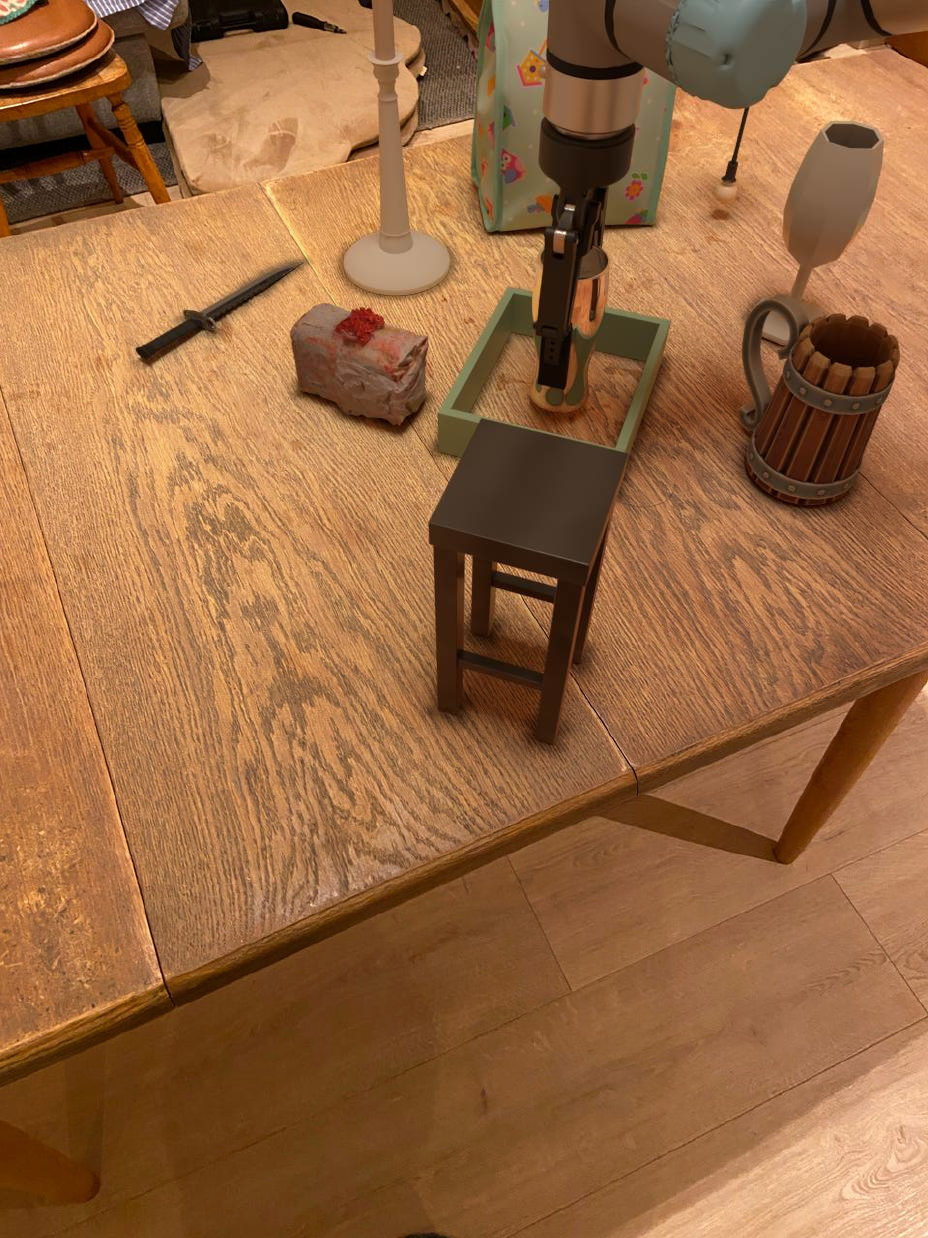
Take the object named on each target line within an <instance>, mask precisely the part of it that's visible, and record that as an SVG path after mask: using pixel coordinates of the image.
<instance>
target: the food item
mask: <svg viewBox="0 0 928 1238" xmlns="http://www.w3.org/2000/svg"><path fill="white" fill-rule="evenodd" d="M289 338H290V340H291V350H292V355H293V361H294V366H295V372H296V378H297V385H298V386H297V387H298V389H299V391H300V392H306V393H308V394H313V395H318V396H319V397H320V398H323V399H326V400H329V401H332V402H333V403H336V405H337V406H338V407H339V409H340V410H341V412H342V413H344V414H345V415H347V416H350V415H352V416H356V417H359V416H362V415H363V416H364V417H366V418H369V419H383V420H386V421H387V422H389V423H390V424H391V425H392V426H396V425H398V426H401V424H402V423H404V421H405V419H406V418H407V416H411V415H412V414H413V413H417V411H418V410H419V409H420V406H421V405H422V403H423V402H424V401H425V400H426V398H427V396H426V395H427V393H426V392H427V390H426V381H427V377H426V376H427V374H426V366H427V355H428V350H429V346H430V345H429V336H428V335H422V334H416V332H412V331H411V330H408V329H404V328H401V327H398V326H394V325H391V324H388V323H387V322H385V316H382V315H380V314H378V313H375V312H374V311H373V309H372V308H371V307H367V308H366V306H364V307H363V306H359V308H358V307H356V308H355V309H354V308H352V309H351V311H350V310H347V309H345V308H342V307H340V306H338V305H337V306H336V305H334V304H332V303H329V302H322V303H319V304H316V305H314V306H312V307H311V308H310V309H309V310H307V312H305V313H303V315H302V316H301V317H299V319H297V320H296V321H295V322H294V324H293V325H292V326H291V329H290V331H289Z"/></svg>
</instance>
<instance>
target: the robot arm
mask: <svg viewBox="0 0 928 1238" xmlns="http://www.w3.org/2000/svg"><path fill="white" fill-rule="evenodd" d="M927 31H928V0H549V11H548V28H547V44H546V45H547V49H546V65H540V68H539V70H538V76H539V78H541V79H545V87H544V94H543V108H542V109H543V113H544V115H545V117H544V118H543V119H542V121H541V128H540V143H539V158H538V162H539V166H540V169H541V170H542V172H543V173H544V174H545V175H546V176H547V177H548V178H549V179H552V180H553V181H554V182H555V183H556V184H557V185H558V186H559V187H560V193H559V195H558V194H555V195H554V198H553V202H552V208H551V216H552V218H553V220H552V226H547V227H545V230H544V233H543V237H544V238H543V239H544V242H543V243H544V245H543V246H544V247H543V248H544V262H543V271H542V280H541V290H540V299H539V308H538V317H537V320H536V321H535V322H534V323H533V329H535V331H536V336H541V348H540V360H539V372H538V384H539V385H544V386H548V387H553V388H557V389H562V390H565V388H566V385H567V376H568V368H569V359H570V351H571V342H572V333H573V327H571V326H570V324H571V319H572V313H573V308H574V302H575V297H576V291H577V284H578V279H579V275H580V269H581V264H582V258H583V256H585V255H586V254H587V253H588V252H589V251H590V250H591V249H592V248H593V247H592V246H594V245H597V246H599V247H601V248H602V249H603V245H604V244H603V242H604V234H605V226H606V225H605V217H606V208H607V199H608V190H609V185H612V184H614V183H616V182H618V181H620V180H621V179H622V178H624V177H625V175H626V174H627V173H628V171H629V169H630V165H631V158H632V151H633V144H634V138H635V131H636V128H635V124H634V122H635V121H636V120H637V118H638V115H639V110H640V103H641V96H642V89H643V82H644V75H645V69H646V68H648V69H649V70H651V71H653V72H655V73H656V74H658V75H660V76H661V77H663V78H665V79H666V80H668V81H670V82H672V83H673V84H675V85H677V87H678V88H680V89H681V91H683V92H684V93H687V94H688V95H689V96H691V97H697V98H698V99H700V100H702V101H707V102H708V101H709V102H710V103H712V104H715V105H718V106H720V107H721V108H722V107H723V108H725V109H728V110H743V109H745V108H747V107H749V108H750V107H752V106H755V105H757V104H759V103H760V102H761V101H763V100H764V99H765V97H766V95H767V93H768V92H769V91H770V90H771V89H773V88H777V87H778V86H779V85H780V84H781V83H782V81H783V80H784V79H785V77H786V76H787V75H788V73H789V72H790V70H791V69H792V67H793V65H794V63H795V62H796V59H797V58H800V57H802V56H803V57H804V55H807V54H810V53H815V52H817V51H821V50H824V49H828V48H831V47H835V46H838V45H844V44H849V43H856V42H864V41H871V40H878V39H885V38H890V37H895V36H899V35H903V34H904V35H905V34H911V33H918V32H927Z"/></svg>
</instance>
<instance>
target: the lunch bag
mask: <svg viewBox="0 0 928 1238" xmlns="http://www.w3.org/2000/svg"><path fill="white" fill-rule="evenodd" d="M548 11H549V0H482V4H481V8H480V12H479V15H478V22H477V27H476V38H477V41H478V42H479V43H478V51H477V63H476V83H475V99H474V115H473V125H472V126H473V127H472V138H471V152H470V153H471V156H470V158H471V159H470V175H471V176H470V177H471V180H472V181H473V183H474V185H475V186H476V187H477V188H478V191H477V194H478V200H479V206H480V210H481V215H482V220H483V224H484V228H485V230H486V231H487V232H488V233H493V232H495V231H499V232H507V231H519V230H530V229H537V228H546V227H547V226H552V220H553V218H552V216H551V208H552V202H553V198H554V195H555V194H558V195H559V193H560V187H559V186H558V185H557V184H556V183H555V182H554V181H553V180H552V179H549V178H548V177H547V176H546V175H545V174H544V173H543V172H542V170H541V169H540V166H539V162H538V158H539V143H540V128H541V121H542V119H543V118H544V117H545V115H544V113H543V109H542V108H543V94H544V87H545V79H541V78H539V76H538V70H539V68H540V65H546V49H547V45H546V44H547V28H548ZM677 87H678V86H677V85H675V84H673V83H672V82H670V81H668V80H666V79H665V78H663V77H661V76H660V75H658V74H656V73H655V72H653V71H651V70H649V69H648V68H646V69H645V75H644V82H643V89H642V96H641V103H640V110H639V115H638V118H637V120H636V121H635V122H634V124H635V128H636V131H635V138H634V144H633V151H632V158H631V165H630V169H629V171H628V173H627V174H626V175H625V177H624V178H622V179H621V180H620V181H618V182H616V183H614V184H612V185H609V190H608V199H607V208H606V217H605V226H614V225H615V226H616V225H617V226H618V225H645V226H652V225H654V223H655V221H656V216H657V210H658V206H659V200H660V196H661V191H662V188H663V182H664V176H665V171H666V166H667V161H668V154H669V147H670V139H671V129H672V123H673V116H674V108H675V99H676V93H677Z"/></svg>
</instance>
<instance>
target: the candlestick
mask: <svg viewBox="0 0 928 1238" xmlns="http://www.w3.org/2000/svg"><path fill="white" fill-rule="evenodd" d="M371 7H372V9H371V10H372V23H373V24H372V25H373V26H372V27H373V39H374V51H371V52H369V54H367V60H368V61H369V63H371V64H372V65H373V66H372V67H373V71H372V74H373V77H374V78H375V79H376V80H377V85H378V87H379V91H378V93H377V96H376V98H377V100H378V101H377V104H378V105H377V107H378V108H377V111H378V112H377V113H378V159H379V161H378V163H379V164H378V165H379V169H378V170H379V221H380V223H379V230H377V231H374V232H371V233H369V234H366V235H364V236H362V237H361V238H359V239H357V240H356V241H355V242H354V243H353V244H351V246H349V248H348V249H347V250H346V252H345V253H344V257H343V269H344V274H345V275H346V277H347V279H349V281H350V282H351V283H353V284H354V285H355V286H356V287H358V288H360V289H362V290H364V291H366V292H370V293H373V294H376V295H377V294H378V295H383V296H407V295H414V294H418V293H421V292H424V291H428V290H429V289H432V288H433V287H435V286H437V285H438V284H440V283H441V282H442V281H443V280H444V279H445V278H446V277H447V276H448V274H449V272H450V269H451V257H450V254H449V251H448V249H447V248H446V247H445V245H443V243H442V242H440V241H439V240H438V239H436V238H435V237H433V236H431V235H429V234H427V233H425V232H421V231H419V230H414V229H411V225H410V215H409V207H408V196H407V186H406V185H407V184H406V175H405V174H406V173H405V164H404V163H405V162H404V154H403V145H402V134H401V133H402V132H401V123H400V114H399V113H400V112H399V102H398V99H399V98H398V97H399V94H398V93H397V92H396V83H397V80H396V79H398V78H399V76H400V68H399V64H400V62H402V61H403V59H404V54H403V53H402V52H400V51H399V50H396V43H395V26H394V25H395V24H394V23H395V22H394V21H395V20H394V5H393V0H371Z"/></svg>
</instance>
